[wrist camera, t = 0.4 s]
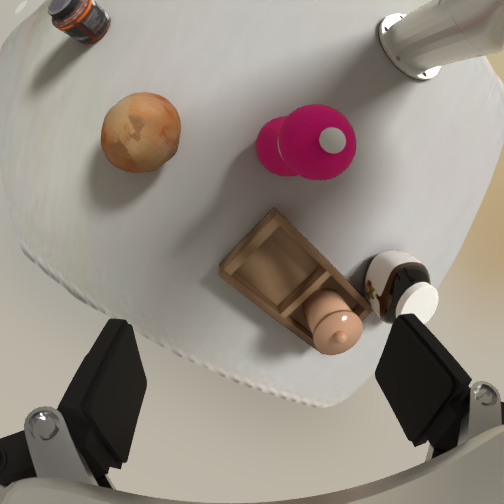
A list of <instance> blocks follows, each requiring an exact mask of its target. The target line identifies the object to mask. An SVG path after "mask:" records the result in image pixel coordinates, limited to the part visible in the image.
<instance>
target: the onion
mask: <svg viewBox="0 0 504 504" xmlns="http://www.w3.org/2000/svg"><path fill="white" fill-rule="evenodd" d="M180 132H181V123H180V117H179V115H178V112H177V110H176V109H175V107H174V106H173V105H172V104H171V103H170V102H169V101H168V100H167V99H166V98H164V97H162V96H160V95H157V94H153V93H145V92H143V93H135V94H131V95H129V96H127V97H125V98H123V99H122V100H121V101H119V102H118V103H117V104H116V105H115V106H113V107H112V108H111V109H110V110H109V111H108V113H107V115H106V116H105V119H104V122H103V126H102V131H101V145H102V148H103V151H104V153H105V155H106V157H107V159H108V160H109V161H110V162H111V163H112V164H113V165H114V166H116V167H117V168H120V169H122V170H124V171H127V172H132V173H142V172H149V171H153V170H155V169H157V168H158V167H160V166H161V165H162V164H164V163H165V162H166V161H168V160H169V159H171V158H172V157H173V156H174V155H175V153H176V152H177V149H178V144H179V137H180Z"/></svg>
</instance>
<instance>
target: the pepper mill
mask: <svg viewBox="0 0 504 504" xmlns="http://www.w3.org/2000/svg"><path fill="white" fill-rule="evenodd" d="M256 150H257V154H258V157H259V159H260V161H261V163H262V164H263V165H264V166H265V167H266V168H267V169H268V170H269V171H271V172H272V173H274V174H277V175H280V176H296V175H300V176H302V177H304V178H307V179H311V180H326V179H331V178H333V177H336V176H338V175H339V174H341V173H342V172H343V171H345V170H346V169H347V168H348V166H349V165H350V163H351V162H352V160H353V158H354V155H355V151H356V139H355V134H354V131H353V128H352V126H351V125H350V123H349V121H348V120H347V119H346V118H345V117H344V116H343V115H342V114H341V113H340V112H338V111H337V110H335V109H333V108H331V107H328V106H324V105H307V106H303V107H301V108H298V109H296V110H295V111H293V112H292V113H291V114H289V116H284V117H279V118H276V119H273V120H271V121H270V122H268V123H267V124H266V125H265V126H264V127H263V128H262V129H261V130H260V132H259V134H258V137H257V142H256Z"/></svg>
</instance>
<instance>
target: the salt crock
mask: <svg viewBox="0 0 504 504" xmlns="http://www.w3.org/2000/svg"><path fill="white" fill-rule="evenodd" d="M303 313H304V316H305V318H306V320H307V323H308V325H309V327H310V329H311V332H312V334H313V342H314V344H315V346H316V348H317V350H318V351H320V352H321V353H323V354H326V355H336V354H340V353H343V352H345V351H347V350H349V349H350V348H351V347H353V346H354V345H355V344H356V343H357V341H358V340H359V338H360V337H361V334H362V330H363V325H362V321H361V320H360V318H359V317H358V316H357V314H355V313H354V312H352V311H351V310H350V308H349V307H348V305H347V304H346V303H345V301H344V300H343V298H342V297H341V296H340V294H339V293H338V292H337V291H336V290H334V289H331V288H321V289H318V290H316V291H314V292H313V293H312V294H311V295H310V296H309V297H307V298H306V300H305V302H304V305H303Z"/></svg>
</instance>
